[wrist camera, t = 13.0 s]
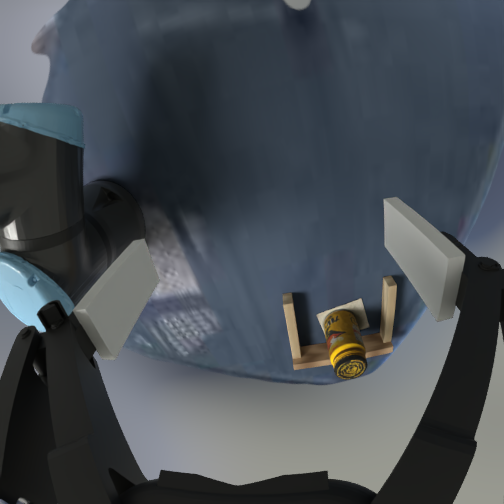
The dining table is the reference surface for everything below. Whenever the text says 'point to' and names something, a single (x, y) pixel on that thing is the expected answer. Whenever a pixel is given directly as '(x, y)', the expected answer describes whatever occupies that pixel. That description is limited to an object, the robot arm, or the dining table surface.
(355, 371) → the condiment
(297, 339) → the bay
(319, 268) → the dining table surface
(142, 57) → the dining table surface
